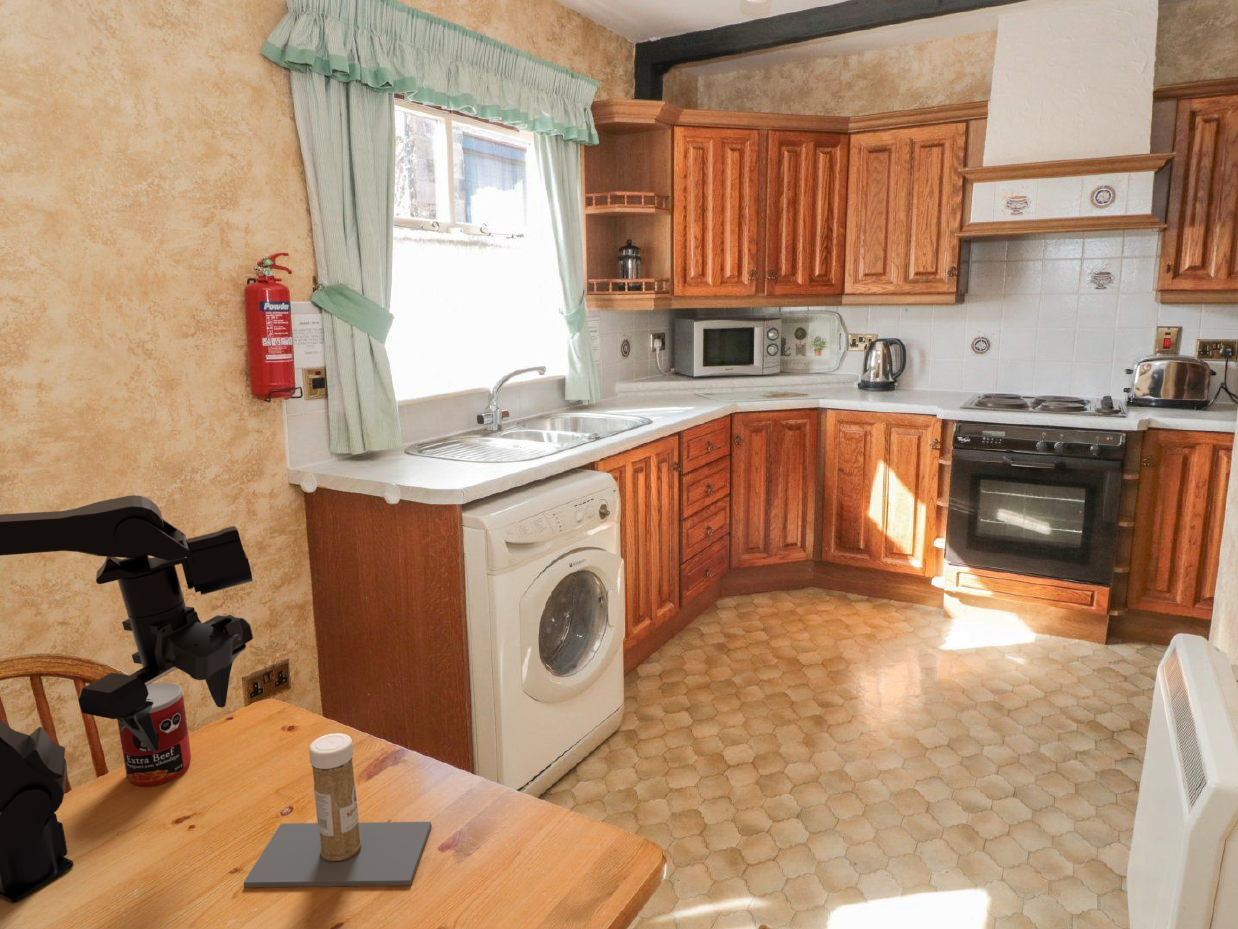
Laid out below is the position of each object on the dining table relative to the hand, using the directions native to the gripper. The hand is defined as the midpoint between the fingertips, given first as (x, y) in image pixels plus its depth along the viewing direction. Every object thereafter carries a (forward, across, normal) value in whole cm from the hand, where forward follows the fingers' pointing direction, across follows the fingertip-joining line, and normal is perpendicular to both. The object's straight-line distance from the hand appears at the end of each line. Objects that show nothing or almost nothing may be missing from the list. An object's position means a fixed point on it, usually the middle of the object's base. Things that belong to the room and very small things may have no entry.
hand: (189, 727), depth 97 cm
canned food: (+12, +5, +16) cm, 21 cm away
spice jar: (+14, +1, -19) cm, 23 cm away
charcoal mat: (+14, +1, -19) cm, 24 cm away
